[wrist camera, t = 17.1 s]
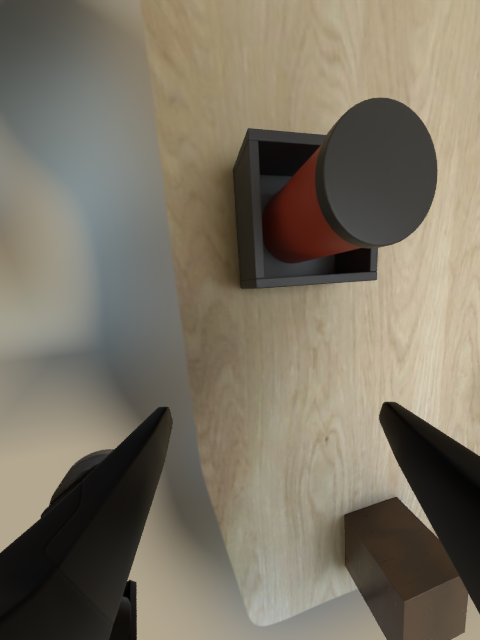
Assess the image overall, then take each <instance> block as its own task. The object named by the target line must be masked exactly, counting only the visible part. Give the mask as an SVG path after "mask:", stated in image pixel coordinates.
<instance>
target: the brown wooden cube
mask: <svg viewBox="0 0 480 640" xmlns="http://www.w3.org/2000/svg"><path fill="white" fill-rule="evenodd" d="M345 564H346V568H347V570H348V571H349V573H350V575H351V577H352V579H353V580H354V582H355V584H356V586H357V587H358V589H359V591H360V593H361V594H362V596H363V598H364V600H365V602H366V603H367V605H368V607H369V609H370V610H371V612H372V614H373V616H374V617H375V619H376V621H377V623H378V625H379V626H380V628H381V630H382V632H383V633H384V635H385V637H386V639H387V640H451V639H453V638H455V637H457V636H459V635H460V634H462V633H464V632H465V621H466V612H467V601H468V592H467V590H466V588H465V586H464V584H463V582H462V580H461V579H460V577H459V575H458V573H457V571H456V569H455V568H454V566H453V564H452V562H451V560H450V558H449V557H448V555H447V553H446V551H445V549H444V547H443V545H442V544H441V542H440V540H439V539H438V538H437V537H436V536H435V535H434V534H433V533H432V532H431V531H430V530H429V529H428V528H427V527H426V526H425V525H424V524H423V523H422V522H421V521H420V520H419V519H418V518H417V517H416V516H415V515H414V514H413V513H412V512H411V511H410V510H409V509H408V508H407V507H406V506H405V505H404V504H403V503H402V502H401V501H400V500H399V499H398V498H397V497H395V498H393V499H390V500H387V501H384V502H381V503H378V504H375V505H373V506H370V507H367V508H364V509H361V510H358V511H355V512H352V513H350V514H347V515H345Z"/></svg>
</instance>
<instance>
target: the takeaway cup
mask: <svg viewBox="0 0 480 640" xmlns="http://www.w3.org/2000/svg"><path fill="white" fill-rule="evenodd" d="M436 184H437V159H436V153H435V149H434V145H433V142H432V139H431V136H430V134H429V132H428V130H427V128H426V126H425V125H424V123H423V122H422V120H421V119H420V118H419V117H418V116H417V114H416V113H415V112H413V111H412V110H411V109H410V108H409V107H407V106H406V105H404V104H403V103H401V102H398V101H396V100H393V99H389V98H372V99H368V100H365V101H363V102H360V103H358V104H356V105H355V106H353V107H352V108H350V109H349V110H348V111H347V112H346V113H345V114H344V115H343V116H342V117H341V118H340V119H339V120H338V121H337V122H336V123H335V125H334V126H333V127H332V128H331V130H330V131H329V132H328V134H327V136H326V137H325V139H324V141H323V143H322V145H321V146H320V147H319V148H318V149H317V151H316V152H315V153H314V154H313V155H312V156H311V157H310V158H309V159H308V160H307V161H306V162H305V164H304V165H303V166H302V167H301V168H300V169H299V170H298V171H297V172H296V173H295V174H294V176H293V177H292V178H291V179H290V180H289V181H288V182H287V183H286V184H285V185H284V186H283V188H282V189H281V190H280V191H279V192H278V193H277V194H276V195H275V196H274V197H273V198H272V200H271V201H270V202H269V203H268V204H267V206H266V208H265V209H264V212H263V214H262V231H263V242H264V244H265V246H266V248H267V249H268V251H269V252H270V253H271V254H272V255H273V256H274V257H275V258H277V259H278V260H280V261H283V262H285V263H293V264H294V263H300V262H305V261H309V260H313V259H317V258H321V257H325V256H330V255H334V254H338V253H342V252H346V251H351V250H355V249H359V248H379V247H384V246H388V245H392V244H395V243H397V242H400V241H401V240H403V239H405V238H406V237H408V236H409V235H410V234H411V233H413V232H414V231H415V230H416V229H417V228H418V227H419V225H420V224H421V223H422V221H423V220H424V218H425V217H426V215H427V213H428V211H429V209H430V207H431V204H432V201H433V198H434V194H435V190H436Z"/></svg>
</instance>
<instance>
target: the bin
mask: <svg viewBox="0 0 480 640" xmlns="http://www.w3.org/2000/svg"><path fill="white" fill-rule="evenodd" d="M326 136H327V135H318V134H307V133H295V132H284V131H273V130H262V129H250V128H248V130H247V132H246V135H245V138H244V141H243V143H242V146H241V149H240V152H239V154H238V157H237V160H236V162H235V165H234V168H233V177H234V193H235V208H236V224H237V239H238V255H239V270H240V286H241V289H255V288H271V287H285V286H299V285H314V284H328V283H342V282H356V281H371V280H377V272H376V271H377V255H378V248H359V249H355V250H351V251H346V252H342V253H338V254H334V255H330V256H325V257H321V258H317V259H313V260H309V261H305V262H300V263H294V264H293V263H285V262H283V261H280V260H278V259H277V258H275V257H274V256H273V255H272V254H271V253H270V252H269V251H268V249H267V248H266V246H265V244H264V242H263V231H262V214H263V212H264V209H265V208H266V206H267V204H268V203H269V202H270V201H271V200H272V198H273V197H274V196H275V195H276V194H277V193H278V192H279V191H280V190H281V189H282V188H283V186H284V185H285V184H286V183H287V182H288V181H289V180H290V179H291V178H292V177H293V176H294V174H295V173H296V172H297V171H298V170H299V169H300V168H301V167H302V166H303V165H304V164H305V162H306V161H307V160H308V159H309V158H310V157H311V156H312V155H313V154H314V153H315V152H316V151H317V149H318V148H319V147H320V146H321V145H322V143H323V141H324V139H325V137H326Z"/></svg>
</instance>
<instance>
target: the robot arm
mask: <svg viewBox="0 0 480 640" xmlns="http://www.w3.org/2000/svg"><path fill="white" fill-rule="evenodd" d="M379 420H380V423H381V426H382V428H383V430H384V433H385V435H386V437H387V440H388V442H389V444H390V447H391V449H392V451H393V454H394V456H395V458H396V460H397V462H398V464H399V466H400V468H401V470H402V472H403V474H404V475H405V477H406V479H407V481H408V483H409V485H410V486H411V488H412V490H413V492H414V494H415V496H416V497H417V499H418V501H419V503H420V505H421V507H422V509H423V510H424V512H425V514H426V516H427V518H428V520H429V521H430V523H431V525H432V527H433V529H434V531H435V533H436V534H437V536H438V538H439V540H440V542H441V544H442V545H443V547H444V549H445V551H446V553H447V555H448V557H449V558H450V560H451V562H452V564H453V566H454V568H455V569H456V571H457V573H458V575H459V577H460V579H461V580H462V582H463V584H464V586H465V588H466V590H467V592H468V593H469V595H470V597H471V599H472V601H473V603H474V604H475V606H476V608H477V610H478V612H479V614H480V456H478V455H477V454H475V453H474V452H472V451H471V450H469V449H468V448H466V447H464V446H463V445H461V444H460V443H458V442H457V441H455V440H454V439H452V438H450V437H449V436H447V435H446V434H444V433H443V432H441V431H440V430H438V429H437V428H435V427H433V426H432V425H430V424H429V423H427V422H426V421H424V420H423V419H421V418H419V417H418V416H416V415H415V414H413V413H412V412H410V411H409V410H407V409H405V408H404V407H402V406H401V405H399V404H398V403H396V402H384V403H383V405H382V408H381V411H380V415H379ZM172 424H173V421H172V417H171V413H170V409H169V407H159V408H157V409H156V410H155V411H154V412H153V413H152V414H151V415H150V416H149V417H148V418H147V419H146V420H145V421H144V422H143V423H142V424H141V425H140V426H138V427H137V428H136V429H135V430H134V431H133V432H132V433H131V434H130V435H129V436H128V437H127V438H126V439H125V440H124V441H123V442H122V443H121V444H120V445H119V446H118V447H117V448H115V449H114V450H113V451H112V452H111V453H110V454H109V455H108V456H107V457H106V458H105V459H104V460H103V461H102V462H101V463H100V464H97V465H95V466H93V467H92V468H91V469H90V470H89V471H88V472H87V473H86V474H84V475H83V476H82V477H81V478H80V479H79V480H78V481H77V482H75V483H74V484H73V485H72V486H71V487H70V488H69V489H68V490H66V491H65V492H64V493H63V494H62V495H61V496H60V497H58V498H57V499H56V500H55V501H54V502H53V503H52V504H51V505H49V507H47V508H46V509H45V510H44V512H43V513H42V515H41V519H40V520H38V521H37V522H36V523H35V524H34V525H33V526H31V527H30V528H29V529H28V530H27V531H26V532H24V533H23V534H22V535H21V536H20V537H18V538H17V539H16V540H15V541H14V542H13V543H11V544H10V545H9V546H8V547H7V548H6V549H4V550H3V551H2V552H1V553H0V640H137V636H136V635H137V625H136V624H137V623H136V621H137V619H136V618H137V615H136V614H137V613H136V611H137V610H136V582H134V581H131V580H129V581H127V580H128V577H129V573H130V570H131V567H132V564H133V561H134V558H135V555H136V551H137V548H138V545H139V542H140V539H141V536H142V532H143V529H144V526H145V523H146V520H147V516H148V513H149V510H150V507H151V504H152V501H153V498H154V495H155V491H156V488H157V485H158V482H159V479H160V475H161V472H162V469H163V466H164V462H165V458H166V453H167V448H168V444H169V438H170V434H171V430H172Z"/></svg>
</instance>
